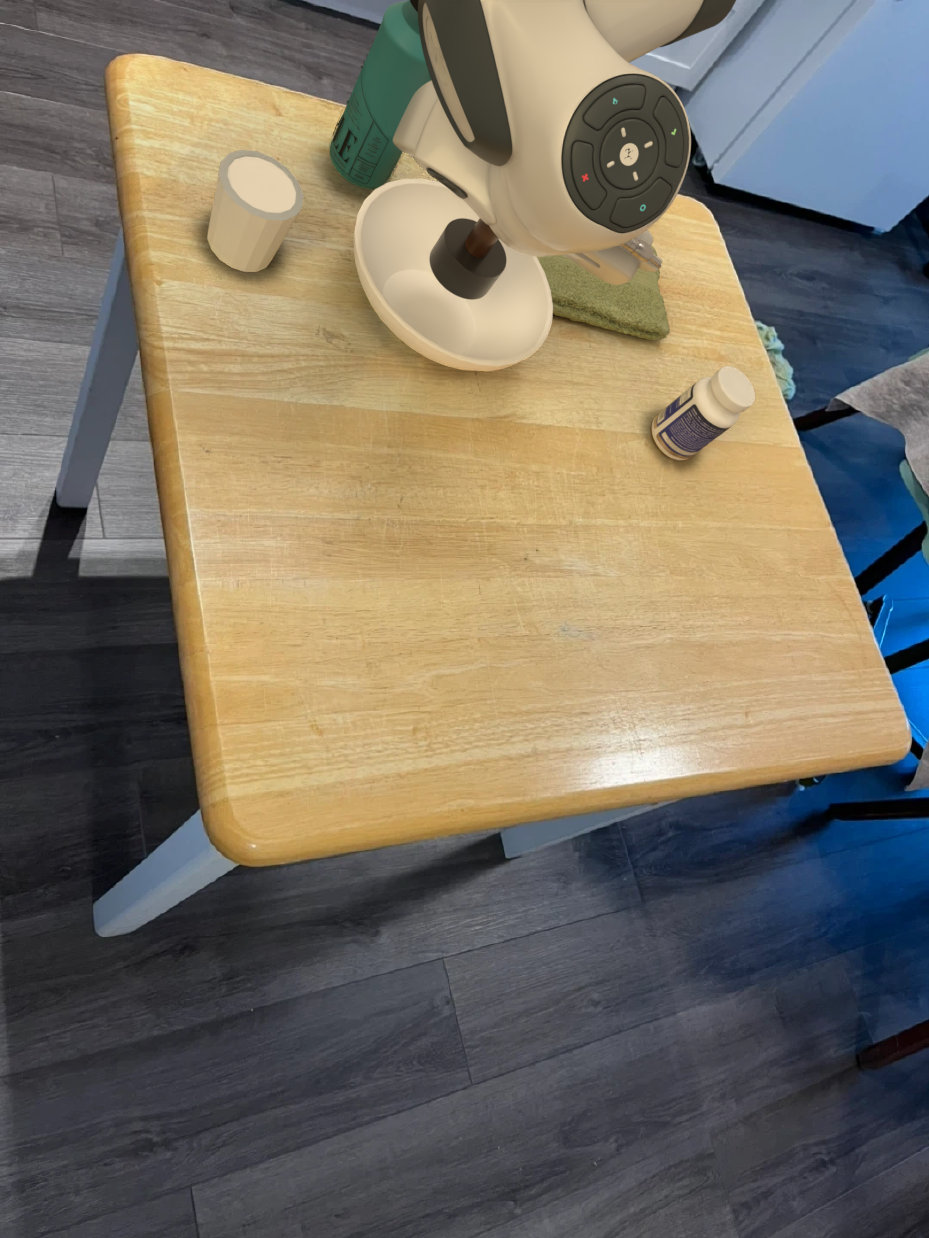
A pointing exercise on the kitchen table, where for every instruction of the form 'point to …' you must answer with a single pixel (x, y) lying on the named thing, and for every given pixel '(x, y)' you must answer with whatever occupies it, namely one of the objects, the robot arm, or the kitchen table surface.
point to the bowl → (421, 307)
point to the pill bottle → (702, 413)
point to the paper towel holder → (467, 258)
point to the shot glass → (252, 209)
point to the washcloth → (607, 299)
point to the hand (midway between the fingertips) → (503, 201)
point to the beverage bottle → (380, 100)
